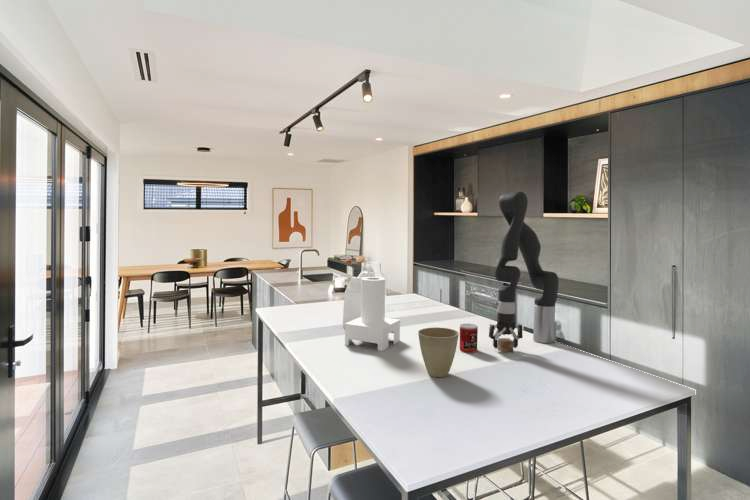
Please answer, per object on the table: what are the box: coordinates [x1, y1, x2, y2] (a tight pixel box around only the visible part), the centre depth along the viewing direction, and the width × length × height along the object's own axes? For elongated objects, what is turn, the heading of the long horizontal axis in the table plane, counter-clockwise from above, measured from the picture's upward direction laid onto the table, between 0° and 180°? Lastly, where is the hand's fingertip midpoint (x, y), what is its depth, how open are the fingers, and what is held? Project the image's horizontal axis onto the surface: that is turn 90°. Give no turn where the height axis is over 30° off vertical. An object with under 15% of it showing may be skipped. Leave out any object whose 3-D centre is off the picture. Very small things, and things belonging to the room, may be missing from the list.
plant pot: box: [417, 326, 460, 378], centre depth 166 cm, size 15×15×16 cm
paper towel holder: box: [344, 276, 401, 352], centre depth 205 cm, size 19×19×30 cm
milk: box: [342, 276, 362, 329], centre depth 237 cm, size 12×12×26 cm
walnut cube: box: [497, 337, 514, 354], centre depth 195 cm, size 5×5×5 cm
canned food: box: [459, 323, 479, 354], centre depth 196 cm, size 8×8×11 cm
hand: (505, 347), depth 195 cm, fingers open, 8 cm apart
